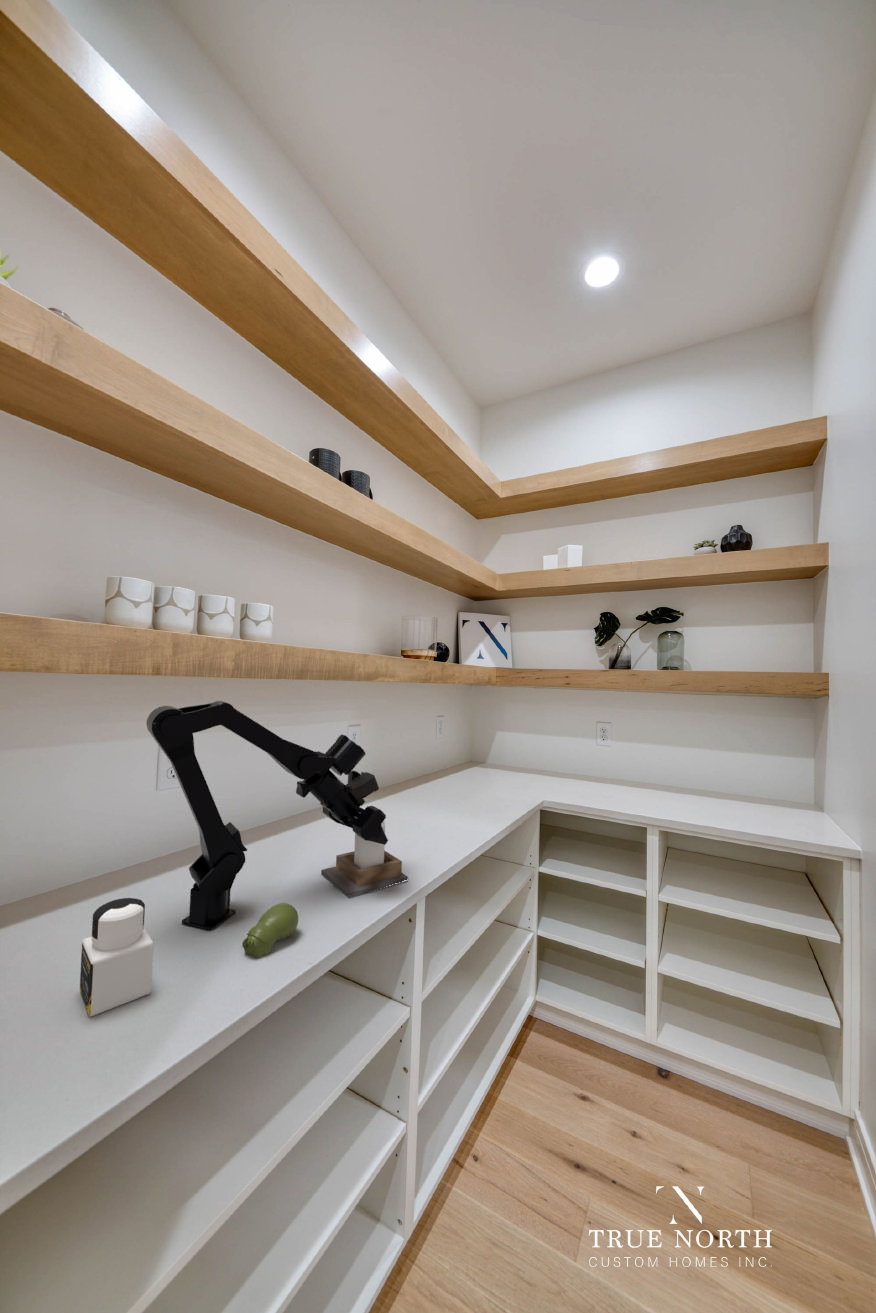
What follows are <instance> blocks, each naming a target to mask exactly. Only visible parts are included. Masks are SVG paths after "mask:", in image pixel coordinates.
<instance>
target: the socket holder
mask: <svg viewBox="0 0 876 1313" xmlns="http://www.w3.org/2000/svg"><path fill="white" fill-rule="evenodd" d="M335 857H336V860H335V861H336V862H335V865H334V866H332V867H328V868H324V869H321V872H320V874H321V876H322V877H323V878H325V879H326V880H327V881H328V882H330V884H332V885H333V886H334V887H335V888H336V889H337V890H339V891H340V892H341V893H342V894H344V895H345V896H346V897H347V898H348V899H350V898H351V899H352V898H355V897H359V896H361V894H362V895H364V894H367V893H368V892H369V893H371V891H372V892H375V891H374V890H376V891H378V890H377V889H379V890H381V889H380V888H383V889H385V888H384V887H386V886H389V885H392V884H395V883H399V882H402V881H404V880H407V879H408V880H409V878H408V877H409V876H408V875H406V874H404V873H403V872H402V867H403V861H402V860H401V859H399V858H398V857H395V856H394V855H393V854H391V853H390V852H388V851H386V850H384V863H383V864H379V865H375V866H371V867H367V868H363V869H361V868H360V867H358V866H357V865H356V864H354V851H351V852H346V853H341V854H337V855H336V856H335ZM389 887H390V886H389ZM386 888H387V887H386ZM369 893H368V894H369Z"/></svg>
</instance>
